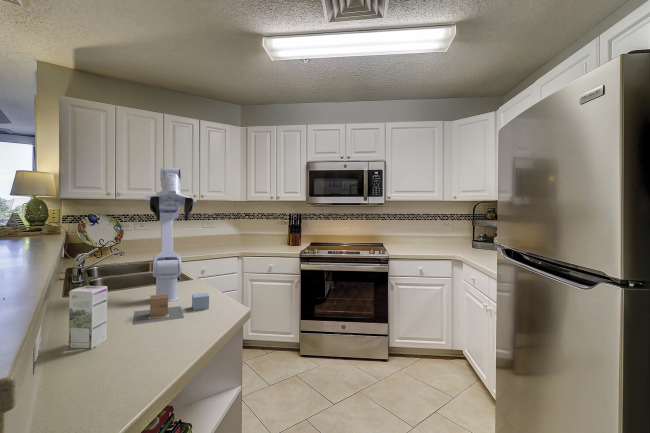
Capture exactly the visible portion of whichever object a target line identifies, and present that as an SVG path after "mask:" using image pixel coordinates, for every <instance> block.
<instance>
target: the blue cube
mask: <svg viewBox="0 0 650 433" xmlns="http://www.w3.org/2000/svg"><path fill="white" fill-rule="evenodd" d="M191 308H192V311H194V312H195V311H202V310H204V311H205V310H209V309H210V294H208V292H202V293H201V292H200V293H192V294H191Z"/></svg>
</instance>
